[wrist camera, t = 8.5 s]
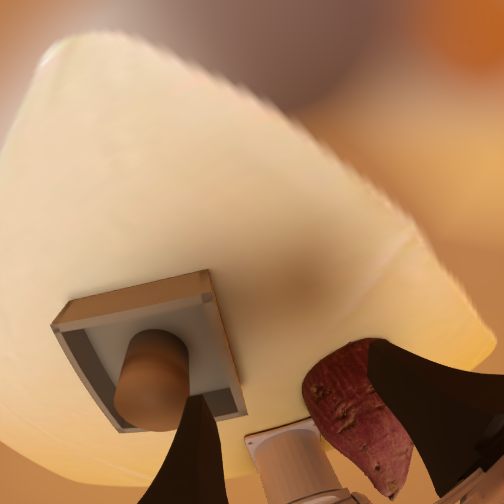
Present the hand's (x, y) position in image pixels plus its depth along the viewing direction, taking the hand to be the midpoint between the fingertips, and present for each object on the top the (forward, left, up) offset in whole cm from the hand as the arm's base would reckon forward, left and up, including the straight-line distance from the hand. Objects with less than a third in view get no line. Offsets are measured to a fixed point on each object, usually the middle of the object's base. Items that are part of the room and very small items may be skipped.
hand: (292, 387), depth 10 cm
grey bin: (-3, +8, -9) cm, 12 cm away
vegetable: (-12, -8, -10) cm, 17 cm away
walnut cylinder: (-3, +8, -9) cm, 12 cm away
